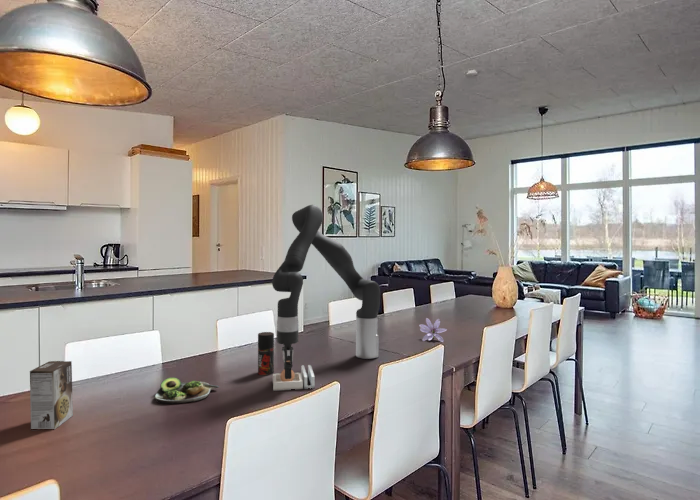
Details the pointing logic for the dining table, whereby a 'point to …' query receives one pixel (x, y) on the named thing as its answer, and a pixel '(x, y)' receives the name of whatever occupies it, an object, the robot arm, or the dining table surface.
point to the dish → (287, 382)
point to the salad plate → (182, 391)
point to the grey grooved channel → (309, 374)
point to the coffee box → (51, 394)
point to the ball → (284, 376)
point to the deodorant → (265, 353)
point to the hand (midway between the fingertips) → (287, 374)
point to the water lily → (432, 330)
